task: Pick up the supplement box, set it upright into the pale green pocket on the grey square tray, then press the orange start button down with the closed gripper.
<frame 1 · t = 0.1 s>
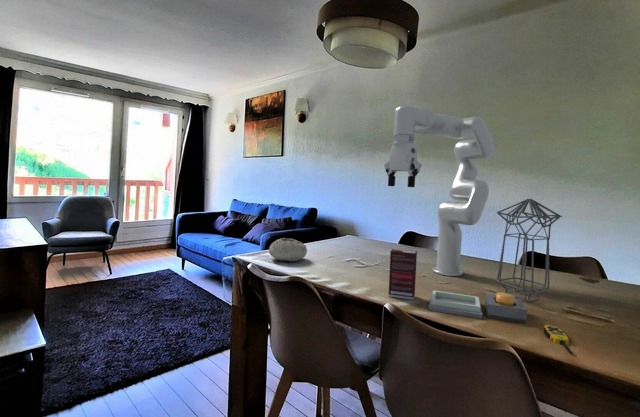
hand: (400, 186, 130), 37 cm above the table, fingers open, 9 cm apart
yellow black handheld tool: (559, 343, 87), on the table
supplement box: (401, 296, 118), on the table
start button: (505, 300, 104), point 4 cm above the table, slide at 0.0 cm
geometric lantern: (521, 297, 122), on the table
button housing: (503, 314, 104), on the table
grey rounded lump: (287, 260, 163), on the table
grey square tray: (454, 306, 110), on the table
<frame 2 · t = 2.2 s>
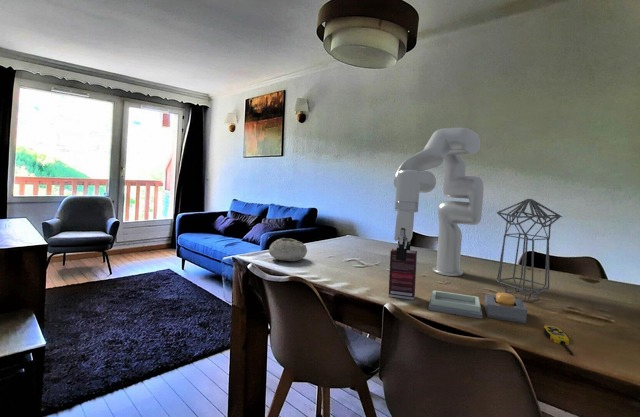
hand: (403, 257, 116), 14 cm above the table, fingers open, 9 cm apart
nothing on the table moved.
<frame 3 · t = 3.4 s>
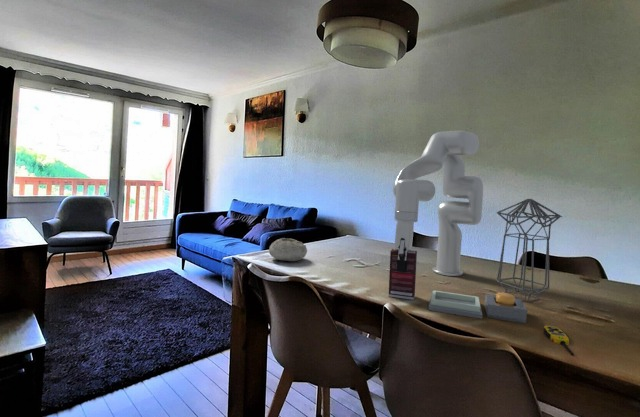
hand: (402, 269, 117), 9 cm above the table, fingers closed on supplement box, 4 cm apart
supplement box: (401, 296, 118), on the table, touching gripper
everything else where it was.
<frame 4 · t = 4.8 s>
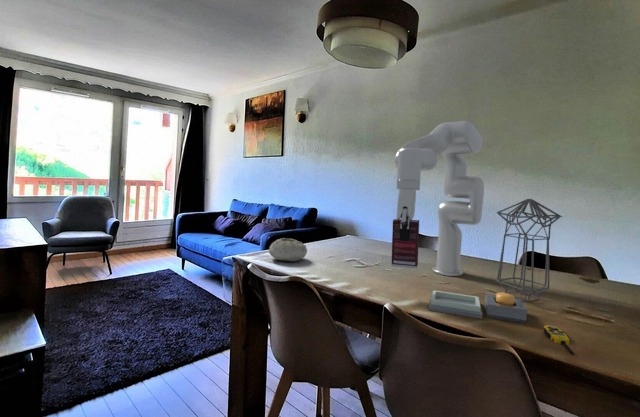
hand: (405, 238, 116), 20 cm above the table, fingers closed on supplement box, 4 cm apart
supplement box: (404, 266, 117), point 10 cm above the table, touching gripper
everything else where it was.
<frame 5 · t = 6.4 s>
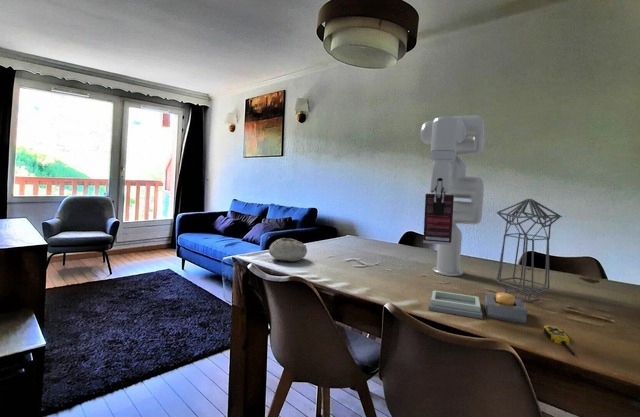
hand: (438, 214, 110), 29 cm above the table, fingers closed on supplement box, 4 cm apart
supplement box: (436, 243, 111), point 20 cm above the table, touching gripper
everything else where it was.
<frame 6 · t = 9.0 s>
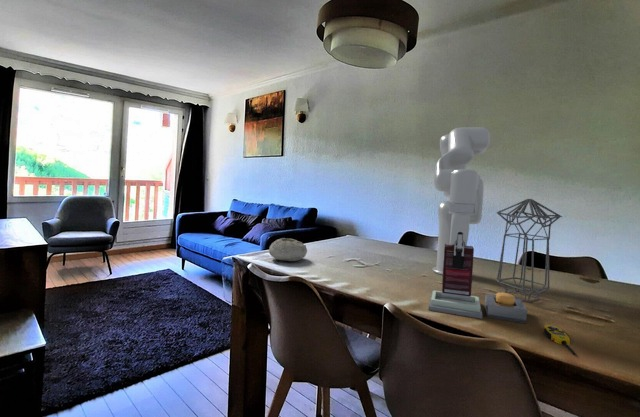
hand: (457, 265, 108), 13 cm above the table, fingers closed on supplement box, 4 cm apart
supplement box: (455, 295, 109), point 4 cm above the table, touching gripper
everything else where it was.
when the fingers open (12 cm above the table, at t = 9.7 s): supplement box drops 1 cm, resting on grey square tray.
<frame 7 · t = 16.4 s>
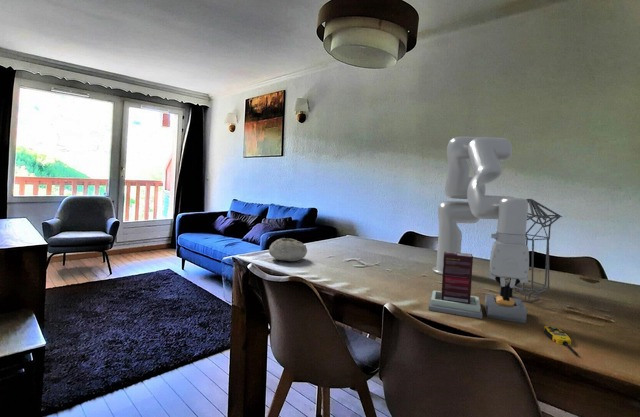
hand: (505, 299, 104), 5 cm above the table, fingers closed
supplement box: (454, 303, 110), point 1 cm above the table, touching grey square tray
start button: (504, 303, 104), point 3 cm above the table, slide at 1.2 cm, touching gripper
everything else where it was.
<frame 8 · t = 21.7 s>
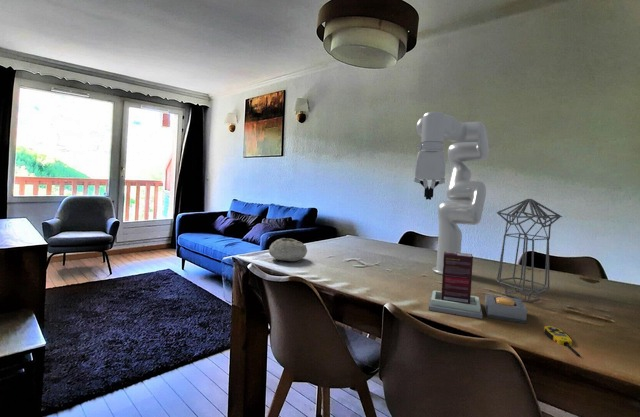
hand: (428, 199, 124), 33 cm above the table, fingers closed
start button: (504, 304, 104), point 3 cm above the table, slide at 1.5 cm
everything else where it was.
at the end: supplement box 0.4 cm off-centre on the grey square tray, point 1.0 cm above the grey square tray's base; supplement box tilted 0°; start button slide at 1.5 cm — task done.
